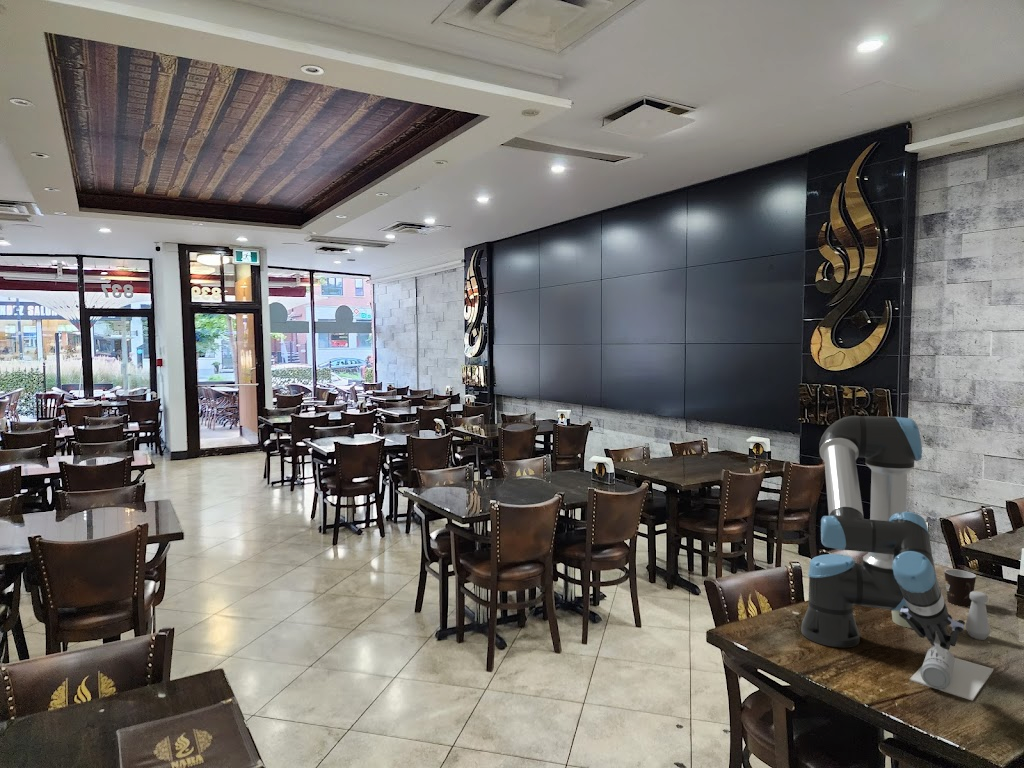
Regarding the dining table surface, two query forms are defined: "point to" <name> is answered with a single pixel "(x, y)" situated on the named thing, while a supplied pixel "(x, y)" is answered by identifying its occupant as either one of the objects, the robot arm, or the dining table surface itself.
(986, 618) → the salt shaker
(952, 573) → the coffee mug
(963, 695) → the mat
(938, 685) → the energy drink can
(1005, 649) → the dining table surface
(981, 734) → the dining table surface
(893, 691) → the dining table surface
